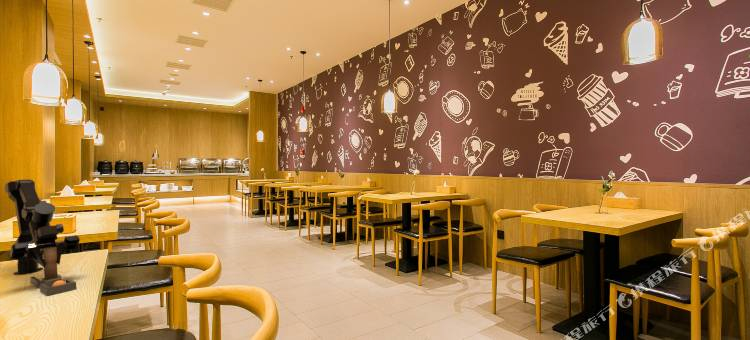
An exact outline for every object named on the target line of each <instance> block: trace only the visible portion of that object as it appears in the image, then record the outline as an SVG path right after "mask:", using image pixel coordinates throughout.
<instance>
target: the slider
mask: <svg viewBox="0 0 750 340" xmlns="http://www.w3.org/2000/svg"><path fill="white" fill-rule="evenodd" d="M43 255H44V258H43V259H44V261H45V265H46V266H45V267H43V277H42V278H40V280H41V284H45V285H47V286H48V287H52V285H53V284H54V283H55V282H56V281H59V280H62V281H63V278H60V277H59V276H57V274H58V264H57V247H48V248H44V249H43Z"/></svg>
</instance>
